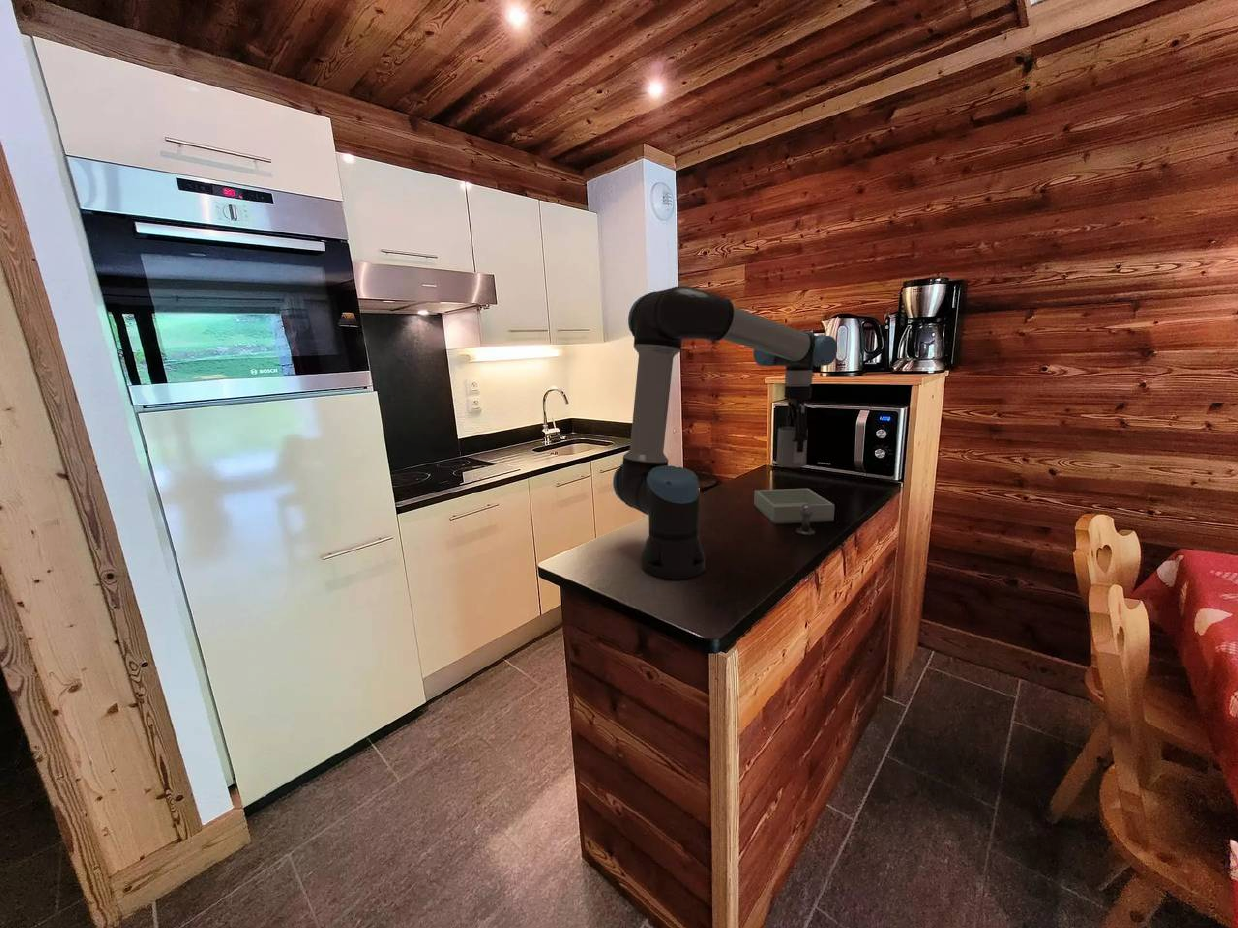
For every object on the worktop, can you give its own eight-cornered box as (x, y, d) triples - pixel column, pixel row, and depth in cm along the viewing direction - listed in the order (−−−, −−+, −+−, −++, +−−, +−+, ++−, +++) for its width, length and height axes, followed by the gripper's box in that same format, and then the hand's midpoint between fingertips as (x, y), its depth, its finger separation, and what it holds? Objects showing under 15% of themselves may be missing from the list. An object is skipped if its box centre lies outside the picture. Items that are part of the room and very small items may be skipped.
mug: (796, 468, 141) (798, 431, 138) (770, 464, 147) (772, 429, 145) (816, 462, 148) (819, 427, 146) (791, 458, 155) (793, 424, 152)
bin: (773, 523, 141) (774, 507, 140) (754, 505, 159) (754, 490, 158) (833, 520, 142) (834, 504, 141) (807, 502, 160) (808, 488, 159)
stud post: (800, 535, 131) (801, 507, 130) (792, 529, 136) (794, 502, 134) (818, 535, 131) (819, 506, 130) (810, 528, 136) (811, 501, 135)
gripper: (822, 387, 131) (817, 467, 136) (802, 382, 152) (798, 451, 157) (793, 387, 132) (789, 467, 137) (778, 383, 153) (775, 451, 158)
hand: (794, 458), depth 147 cm, fingers closed on mug, 9 cm apart
